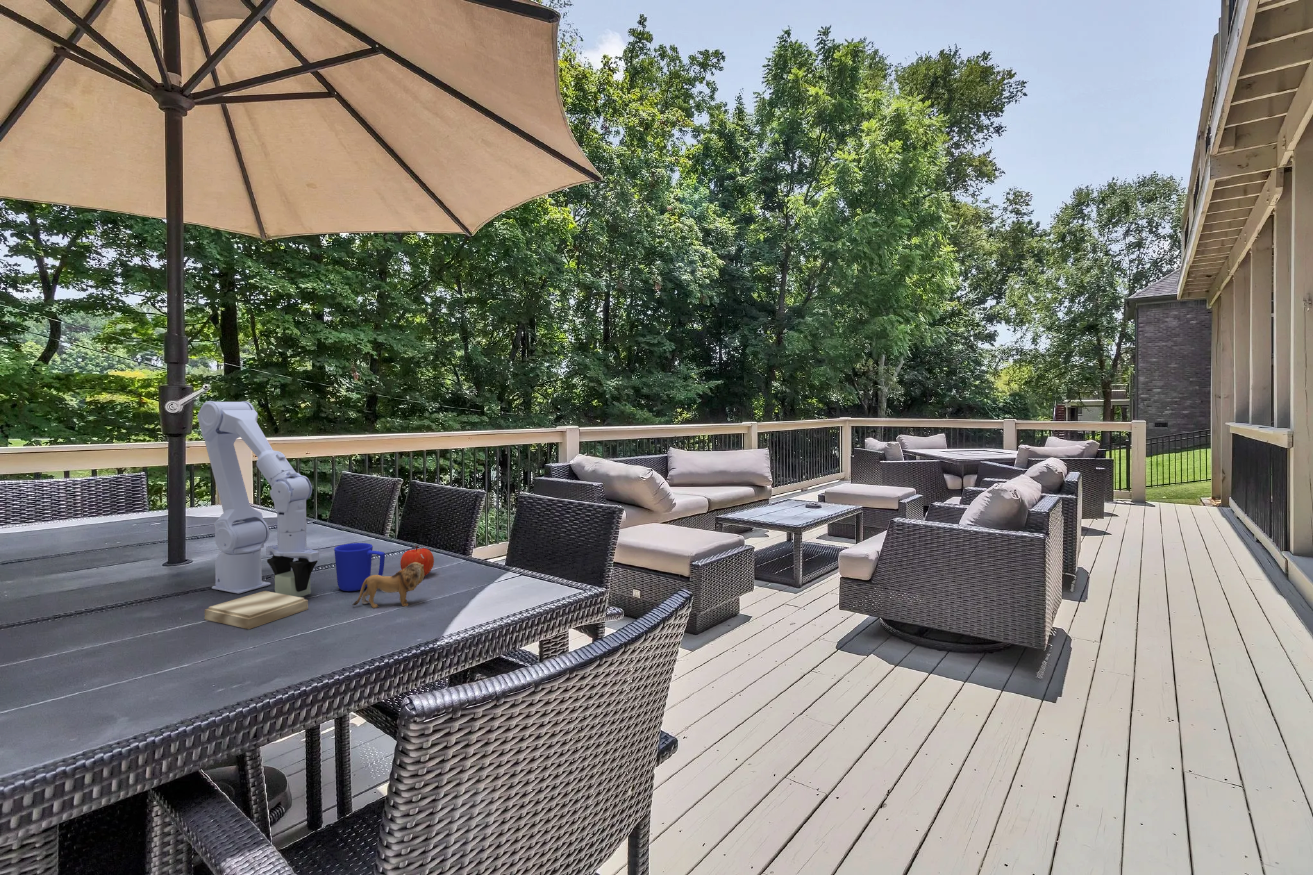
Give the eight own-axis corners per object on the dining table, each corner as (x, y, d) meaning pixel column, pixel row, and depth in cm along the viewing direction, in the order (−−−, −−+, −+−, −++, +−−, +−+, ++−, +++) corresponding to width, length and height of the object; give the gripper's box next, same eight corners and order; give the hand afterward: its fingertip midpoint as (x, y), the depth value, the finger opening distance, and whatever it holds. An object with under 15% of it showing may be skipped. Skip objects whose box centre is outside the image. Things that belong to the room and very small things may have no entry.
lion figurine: (424, 597, 144) (424, 559, 144) (424, 605, 139) (424, 564, 139) (353, 604, 139) (352, 563, 138) (351, 611, 134) (350, 570, 133)
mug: (372, 596, 145) (372, 553, 144) (326, 591, 147) (326, 549, 146) (394, 585, 153) (394, 545, 152) (350, 582, 155) (350, 541, 154)
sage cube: (275, 597, 143) (274, 575, 143) (295, 591, 147) (294, 569, 147) (290, 600, 141) (290, 578, 141) (310, 593, 146) (310, 572, 145)
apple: (438, 577, 161) (438, 546, 160) (406, 582, 156) (406, 550, 155) (427, 570, 167) (427, 540, 166) (395, 575, 162) (395, 544, 161)
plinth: (204, 619, 128) (204, 607, 127) (265, 600, 140) (265, 589, 140) (248, 629, 123) (248, 616, 123) (308, 609, 135) (307, 597, 135)
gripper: (252, 530, 142) (254, 589, 143) (299, 536, 137) (299, 598, 138) (281, 524, 149) (282, 581, 150) (326, 530, 143) (327, 589, 144)
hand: (292, 588), depth 144 cm, fingers open, 5 cm apart
